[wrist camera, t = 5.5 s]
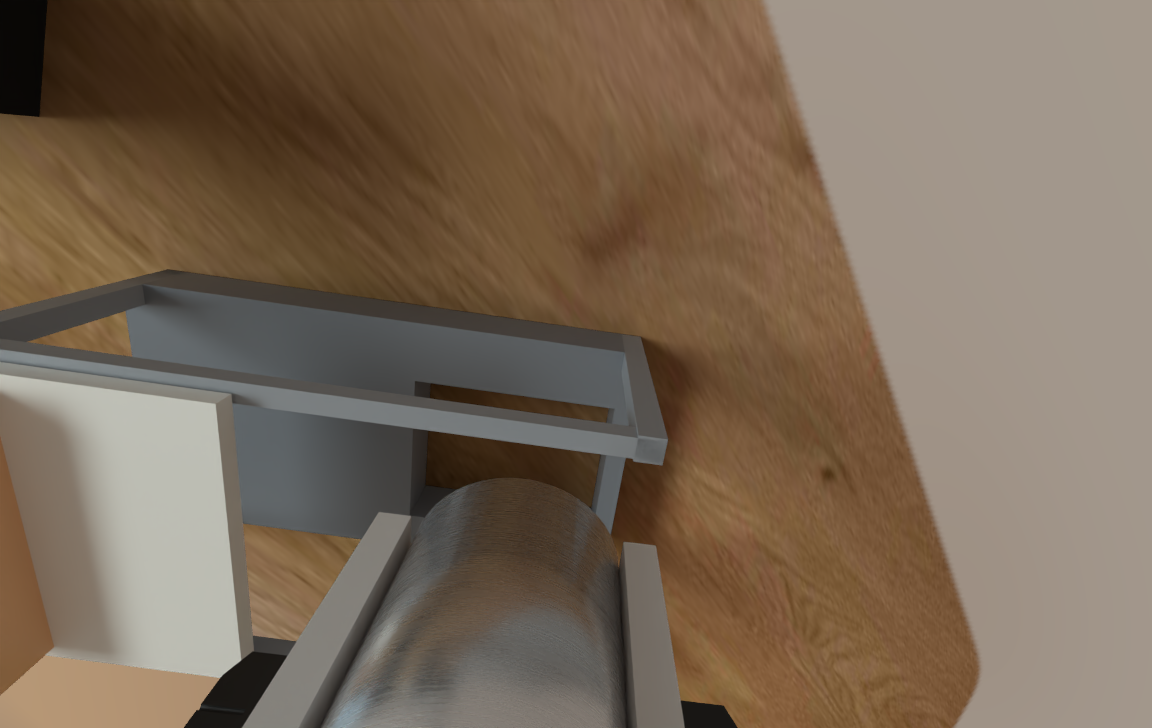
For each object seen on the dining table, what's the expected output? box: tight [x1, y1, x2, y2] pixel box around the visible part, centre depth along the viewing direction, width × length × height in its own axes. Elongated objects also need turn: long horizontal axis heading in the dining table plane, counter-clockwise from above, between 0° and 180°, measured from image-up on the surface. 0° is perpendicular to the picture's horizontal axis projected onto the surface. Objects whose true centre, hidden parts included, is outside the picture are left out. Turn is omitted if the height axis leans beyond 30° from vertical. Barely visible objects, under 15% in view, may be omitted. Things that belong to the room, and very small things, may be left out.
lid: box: [0, 362, 254, 695], centre depth 18 cm, size 12×10×3 cm
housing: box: [0, 270, 668, 656], centre depth 26 cm, size 13×25×12 cm, turn 82°
